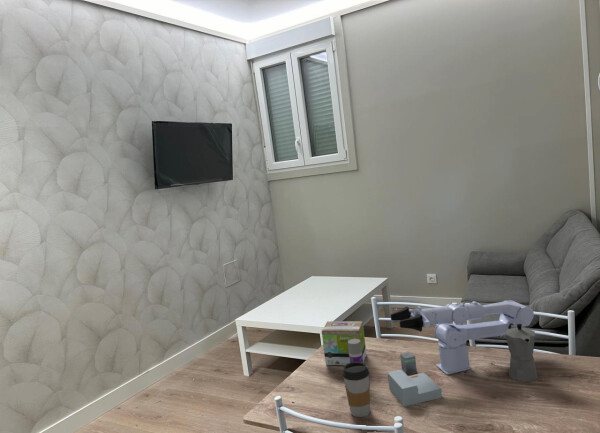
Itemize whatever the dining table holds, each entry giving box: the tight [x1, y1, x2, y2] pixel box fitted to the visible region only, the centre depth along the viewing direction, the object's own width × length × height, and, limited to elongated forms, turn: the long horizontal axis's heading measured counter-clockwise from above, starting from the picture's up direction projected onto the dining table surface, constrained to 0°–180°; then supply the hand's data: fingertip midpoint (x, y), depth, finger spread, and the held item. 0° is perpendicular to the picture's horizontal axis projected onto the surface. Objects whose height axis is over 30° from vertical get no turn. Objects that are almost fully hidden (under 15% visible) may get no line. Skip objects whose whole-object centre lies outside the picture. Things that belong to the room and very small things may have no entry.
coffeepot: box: [504, 323, 539, 383], centre depth 154 cm, size 15×9×18 cm, turn 176°
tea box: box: [321, 320, 367, 366], centre depth 182 cm, size 15×10×15 cm
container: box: [348, 339, 363, 363], centre depth 164 cm, size 5×5×15 cm
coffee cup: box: [342, 362, 372, 418], centre depth 144 cm, size 8×8×15 cm
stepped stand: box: [387, 369, 443, 407], centre depth 151 cm, size 13×12×6 cm
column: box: [399, 351, 418, 375], centre depth 167 cm, size 4×4×6 cm
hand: (395, 320), depth 159 cm, fingers open, 7 cm apart
